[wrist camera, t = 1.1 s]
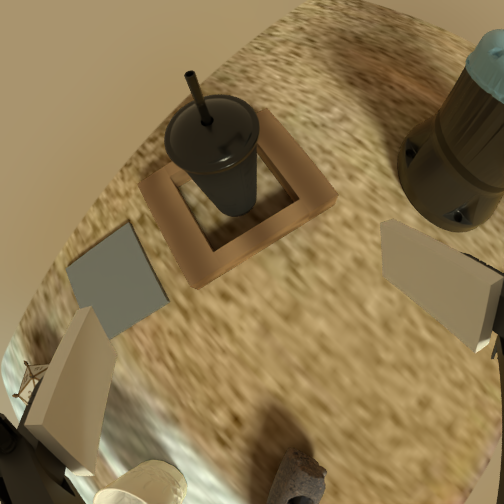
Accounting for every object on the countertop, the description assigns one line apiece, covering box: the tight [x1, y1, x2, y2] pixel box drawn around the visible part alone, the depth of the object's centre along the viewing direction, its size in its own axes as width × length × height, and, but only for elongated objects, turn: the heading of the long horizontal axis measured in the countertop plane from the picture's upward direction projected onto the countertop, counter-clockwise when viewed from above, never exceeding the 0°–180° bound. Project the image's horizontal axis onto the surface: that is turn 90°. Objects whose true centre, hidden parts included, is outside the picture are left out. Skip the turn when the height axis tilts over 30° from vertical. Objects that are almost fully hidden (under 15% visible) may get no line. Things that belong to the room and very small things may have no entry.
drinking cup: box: [164, 71, 260, 217], centre depth 26 cm, size 8×8×20 cm
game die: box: [12, 361, 49, 406], centre depth 29 cm, size 9×8×10 cm
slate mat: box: [66, 222, 170, 340], centre depth 35 cm, size 11×11×1 cm
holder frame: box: [137, 108, 338, 290], centre depth 35 cm, size 18×14×3 cm
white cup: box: [93, 460, 187, 504], centre depth 24 cm, size 8×8×10 cm
